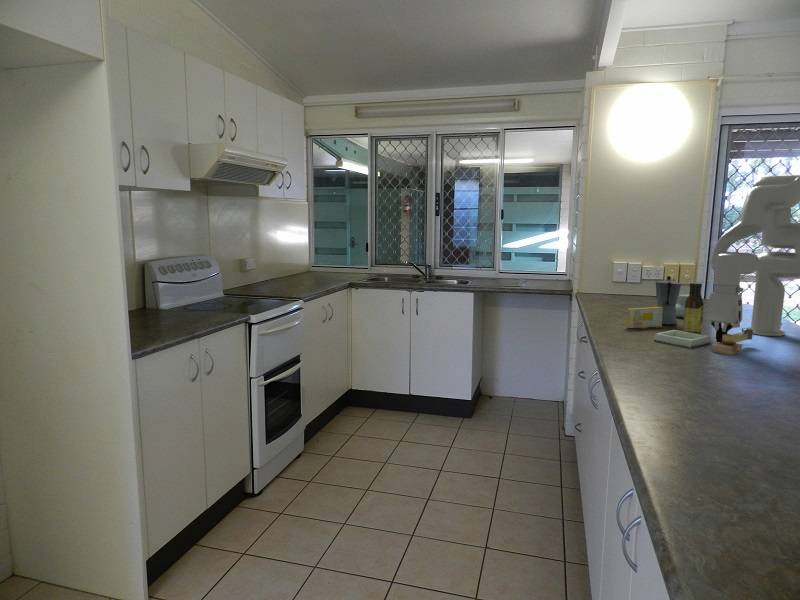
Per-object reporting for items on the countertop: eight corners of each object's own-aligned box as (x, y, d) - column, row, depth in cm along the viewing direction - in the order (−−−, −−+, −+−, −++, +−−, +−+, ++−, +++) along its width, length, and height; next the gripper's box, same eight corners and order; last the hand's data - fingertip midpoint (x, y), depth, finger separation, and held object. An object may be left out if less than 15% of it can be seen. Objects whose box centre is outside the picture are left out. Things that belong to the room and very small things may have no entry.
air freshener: (680, 319, 239) (682, 296, 237) (667, 316, 247) (669, 294, 245) (701, 318, 241) (703, 296, 240) (687, 315, 249) (689, 293, 248)
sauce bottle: (703, 337, 201) (708, 284, 198) (685, 336, 203) (690, 283, 200) (697, 333, 208) (702, 282, 205) (680, 332, 209) (684, 281, 206)
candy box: (658, 326, 222) (659, 306, 221) (662, 327, 220) (663, 307, 219) (625, 328, 217) (627, 308, 216) (629, 329, 215) (630, 309, 214)
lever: (732, 344, 177) (733, 335, 176) (719, 342, 180) (720, 333, 179) (754, 339, 186) (755, 329, 186) (742, 336, 189) (743, 327, 189)
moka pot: (675, 321, 233) (679, 275, 230) (680, 327, 219) (685, 278, 216) (651, 319, 236) (654, 274, 234) (655, 326, 222) (658, 277, 219)
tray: (673, 336, 202) (673, 329, 202) (709, 343, 192) (710, 336, 191) (654, 340, 195) (654, 333, 195) (690, 347, 184) (691, 340, 184)
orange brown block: (723, 348, 184) (724, 340, 184) (741, 351, 179) (742, 344, 179) (711, 351, 179) (712, 343, 179) (729, 355, 175) (730, 347, 174)
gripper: (755, 291, 181) (749, 345, 184) (708, 286, 193) (704, 337, 196) (744, 293, 177) (738, 347, 180) (698, 288, 189) (693, 339, 192)
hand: (720, 342), depth 188 cm, fingers closed
